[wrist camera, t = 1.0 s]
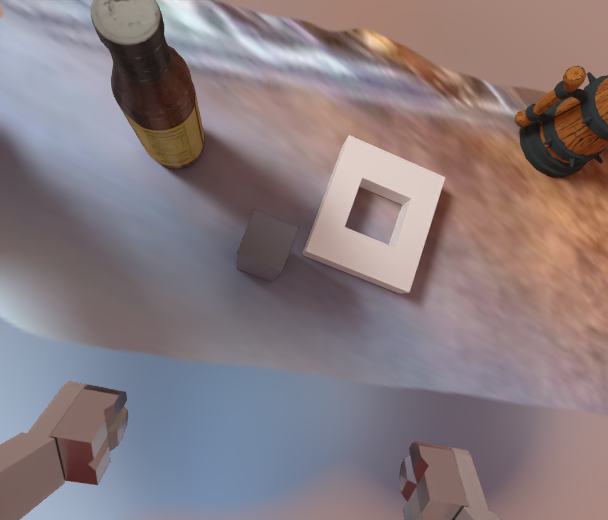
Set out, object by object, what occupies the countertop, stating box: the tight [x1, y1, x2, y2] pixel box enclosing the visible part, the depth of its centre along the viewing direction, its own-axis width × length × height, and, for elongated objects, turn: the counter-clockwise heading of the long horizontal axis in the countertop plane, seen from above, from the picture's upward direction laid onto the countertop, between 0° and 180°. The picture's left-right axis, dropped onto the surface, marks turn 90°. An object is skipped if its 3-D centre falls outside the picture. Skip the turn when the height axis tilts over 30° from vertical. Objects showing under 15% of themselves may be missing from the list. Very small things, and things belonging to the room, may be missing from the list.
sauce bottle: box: [91, 0, 204, 168], centre depth 33 cm, size 6×6×20 cm
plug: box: [237, 210, 299, 282], centre depth 38 cm, size 4×4×10 cm
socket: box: [302, 135, 445, 294], centre depth 44 cm, size 12×14×2 cm
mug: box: [515, 66, 608, 177], centre depth 46 cm, size 13×10×12 cm
